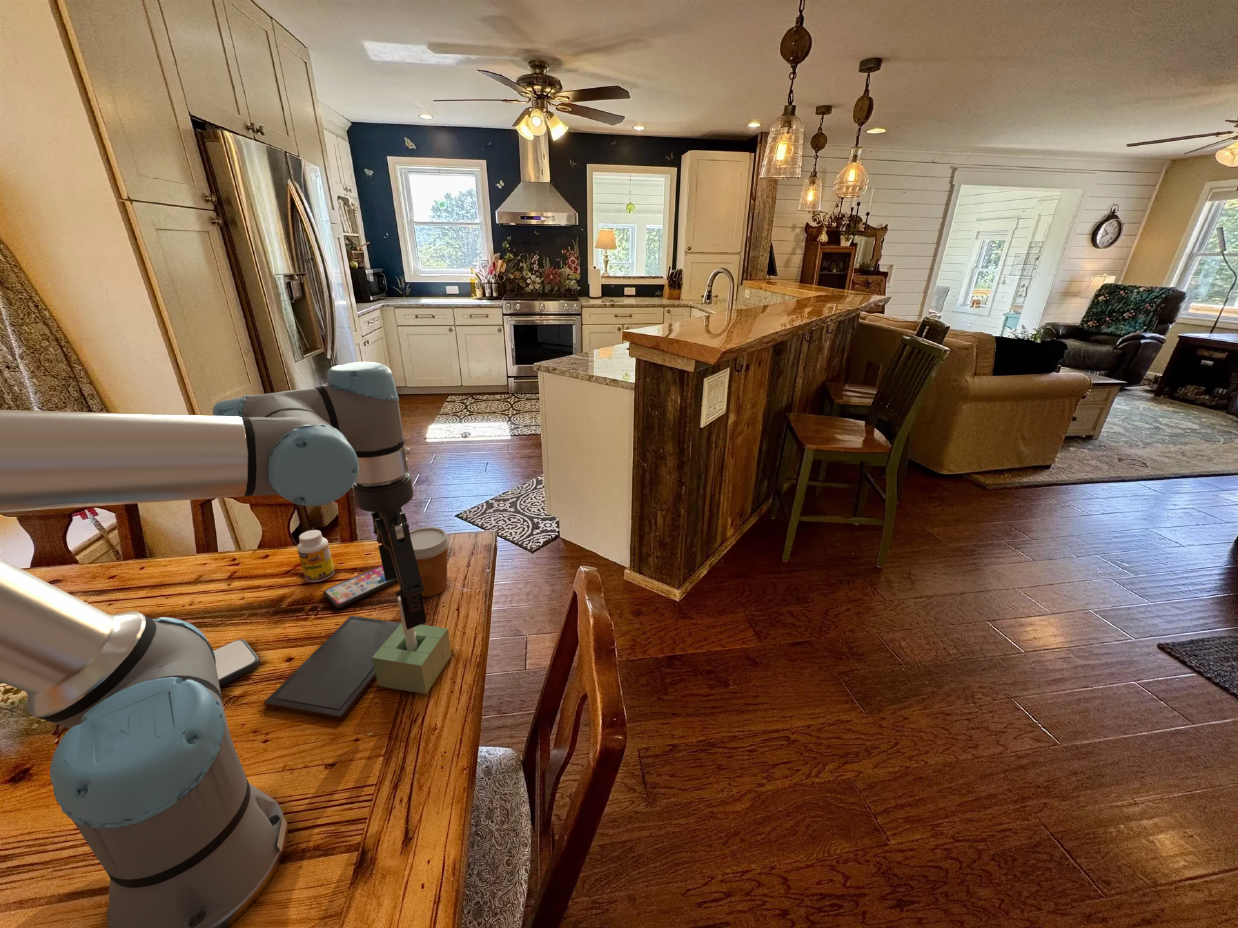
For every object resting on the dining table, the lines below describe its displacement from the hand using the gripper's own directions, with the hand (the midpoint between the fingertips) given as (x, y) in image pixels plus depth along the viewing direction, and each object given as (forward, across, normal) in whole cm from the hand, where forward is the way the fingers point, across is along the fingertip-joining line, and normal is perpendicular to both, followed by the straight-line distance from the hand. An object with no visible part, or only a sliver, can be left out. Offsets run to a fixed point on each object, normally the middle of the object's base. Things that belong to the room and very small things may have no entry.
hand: (404, 599), depth 77 cm
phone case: (+14, +17, +30) cm, 37 cm away
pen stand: (+14, 0, 0) cm, 15 cm away
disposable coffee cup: (+15, +21, -8) cm, 27 cm away
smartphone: (+14, +29, +2) cm, 33 cm away
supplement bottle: (+15, +38, +10) cm, 42 cm away
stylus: (+14, 0, 0) cm, 15 cm away
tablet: (+14, +8, +10) cm, 19 cm away
